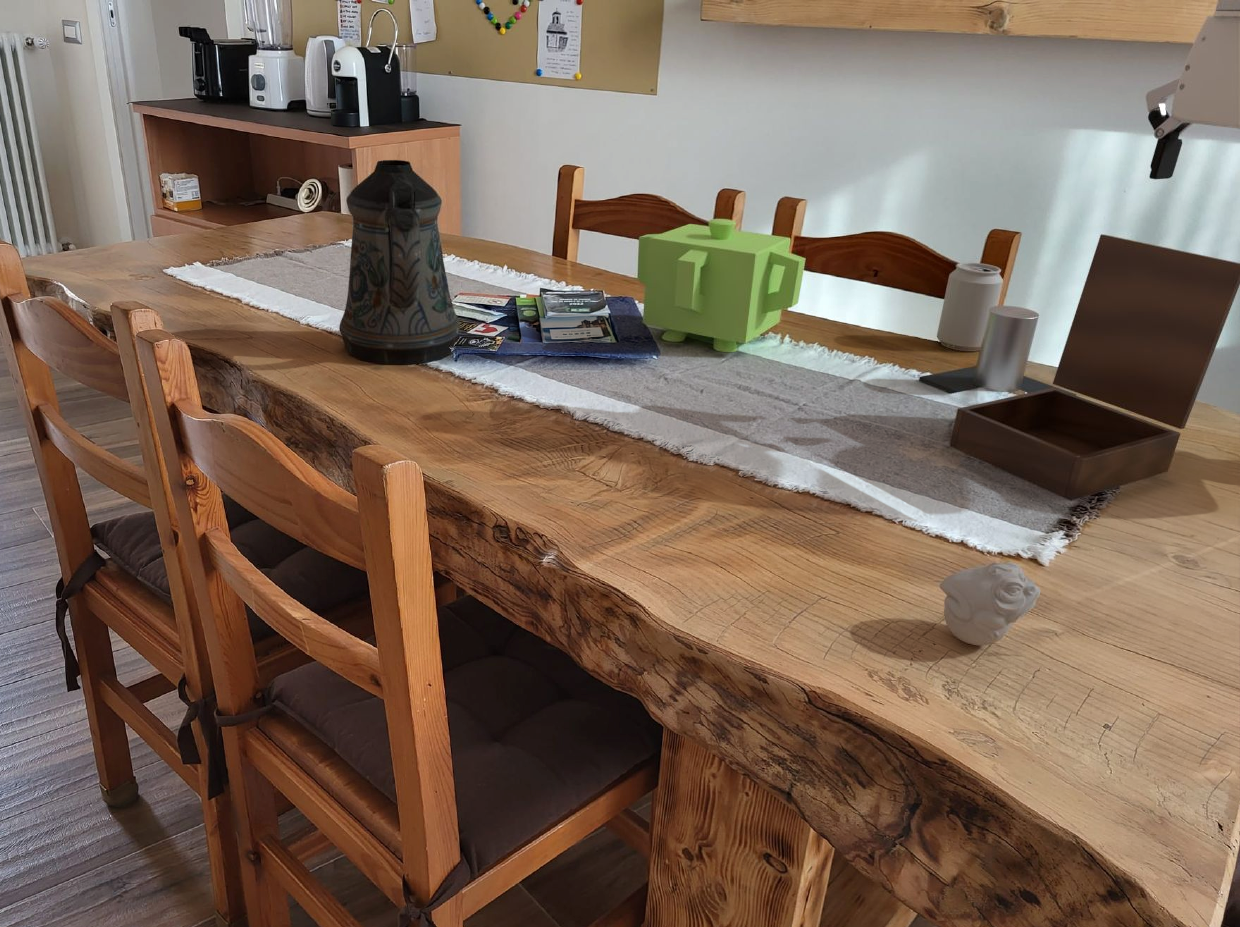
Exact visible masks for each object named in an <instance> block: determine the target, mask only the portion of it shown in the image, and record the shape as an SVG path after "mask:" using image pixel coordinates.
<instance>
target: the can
mask: <svg viewBox="0 0 1240 927" xmlns="http://www.w3.org/2000/svg"><path fill="white" fill-rule="evenodd" d="M955 267H956V268H955V269H954V270H953V271H952V272H950V273H949V275H948V280H947V285H946V289H945V293H944V294H945V295H944V298H943V303H942V308H941V314H940V318H939V321H938V322H939V323H938V328H937V333H936V338H937V340H938V341H939V342H940V344H941V345H942V346H943V347H946V348H948V349H952V350H955V351H961V352H976V351H977V352H978V351H980V347H981V343H982V339H983V334H984V330H985V326H986V321H987V317H988V312H989V309H990V308H991V307H994V306H999V302H1000V297H1001V294H1002V290H1003V284H1004V279H1003V277H1002V276H1001V274H1000V273H1001V272H1002V269H1001V268H1000V267H998V266H995V265H991V264H987V263H982V262H959V263H956V265H955ZM948 345H949V346H948ZM953 346H954V347H953Z"/></svg>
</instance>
